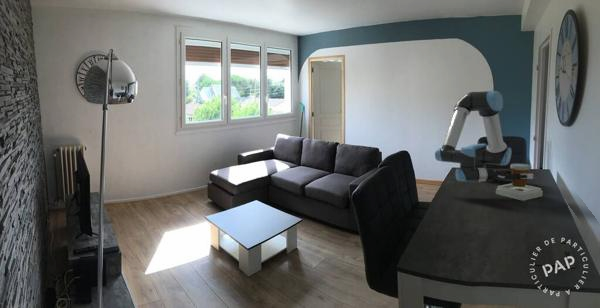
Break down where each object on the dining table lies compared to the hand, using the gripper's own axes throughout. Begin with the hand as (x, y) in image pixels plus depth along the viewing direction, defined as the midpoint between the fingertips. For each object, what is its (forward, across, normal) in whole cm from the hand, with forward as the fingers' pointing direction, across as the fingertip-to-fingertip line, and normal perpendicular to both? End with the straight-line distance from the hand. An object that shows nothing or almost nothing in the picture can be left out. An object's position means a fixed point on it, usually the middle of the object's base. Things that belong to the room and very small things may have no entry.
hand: (528, 174), depth 194 cm
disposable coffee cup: (-5, 0, -7) cm, 8 cm away
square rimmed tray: (-5, 0, -12) cm, 13 cm away
